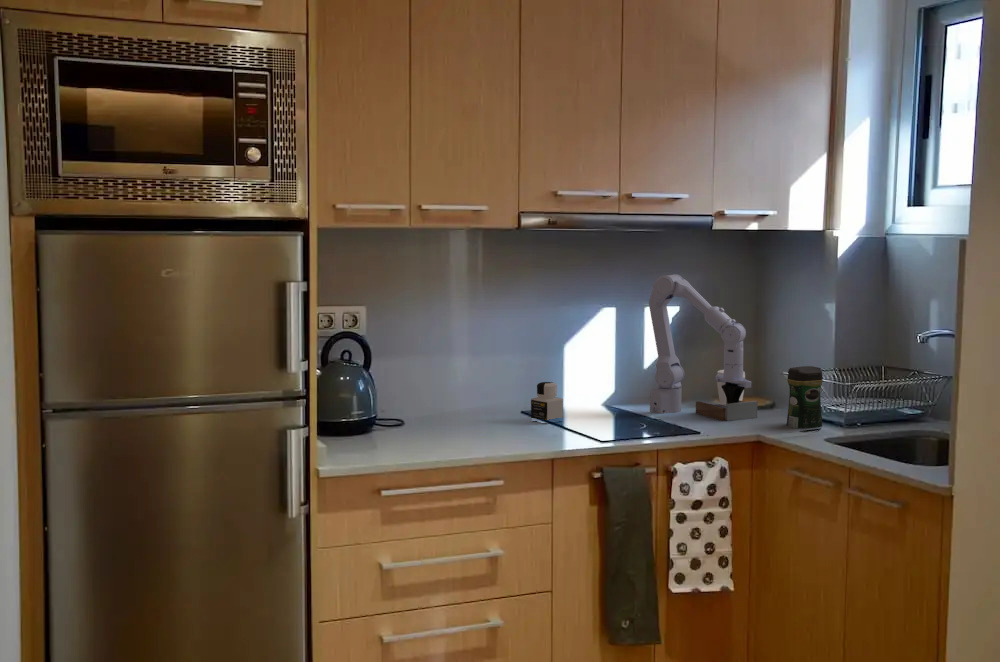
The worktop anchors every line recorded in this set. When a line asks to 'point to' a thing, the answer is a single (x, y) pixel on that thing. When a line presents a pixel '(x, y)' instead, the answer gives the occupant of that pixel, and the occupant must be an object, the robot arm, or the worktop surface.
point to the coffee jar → (805, 398)
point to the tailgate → (741, 410)
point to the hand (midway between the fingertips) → (732, 408)
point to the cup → (721, 393)
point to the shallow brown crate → (711, 410)
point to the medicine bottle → (546, 402)
